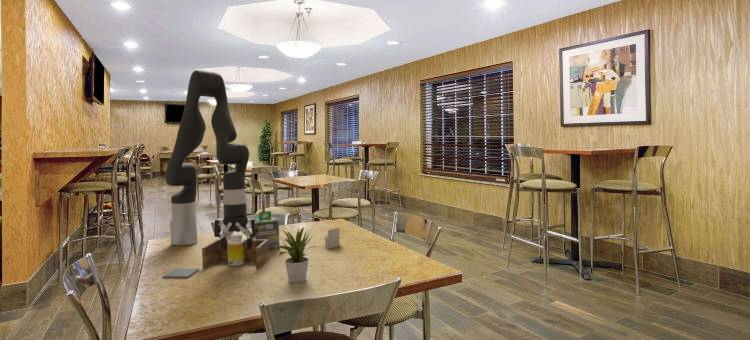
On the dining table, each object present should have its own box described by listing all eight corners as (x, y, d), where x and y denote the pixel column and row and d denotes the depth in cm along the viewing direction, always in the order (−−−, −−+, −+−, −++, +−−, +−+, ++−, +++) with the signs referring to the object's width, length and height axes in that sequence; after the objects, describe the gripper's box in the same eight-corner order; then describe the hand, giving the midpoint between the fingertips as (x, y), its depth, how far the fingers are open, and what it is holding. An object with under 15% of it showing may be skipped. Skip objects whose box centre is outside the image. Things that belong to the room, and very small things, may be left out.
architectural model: (323, 247, 172) (322, 228, 171) (336, 243, 177) (336, 225, 176) (328, 248, 169) (327, 229, 169) (342, 245, 174) (341, 227, 174)
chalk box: (275, 244, 176) (273, 208, 175) (280, 249, 168) (279, 211, 167) (251, 247, 172) (250, 210, 171) (256, 252, 164) (254, 213, 163)
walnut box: (202, 268, 144) (201, 248, 144) (217, 258, 156) (216, 239, 156) (259, 268, 143) (258, 248, 143) (269, 258, 155) (268, 239, 155)
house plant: (279, 271, 141) (278, 221, 140) (322, 271, 140) (321, 221, 139) (267, 286, 127) (266, 231, 125) (314, 286, 126) (313, 231, 125)
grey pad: (162, 278, 135) (162, 276, 135) (175, 270, 143) (175, 268, 143) (188, 278, 135) (187, 276, 135) (199, 270, 143) (199, 268, 143)
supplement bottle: (246, 265, 148) (245, 235, 147) (229, 267, 146) (228, 237, 145) (243, 260, 153) (242, 232, 152) (227, 263, 151) (226, 234, 150)
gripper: (258, 200, 151) (260, 246, 152) (218, 200, 152) (220, 246, 153) (252, 203, 144) (253, 251, 145) (209, 203, 144) (211, 251, 145)
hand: (236, 248), depth 149 cm, fingers open, 8 cm apart
